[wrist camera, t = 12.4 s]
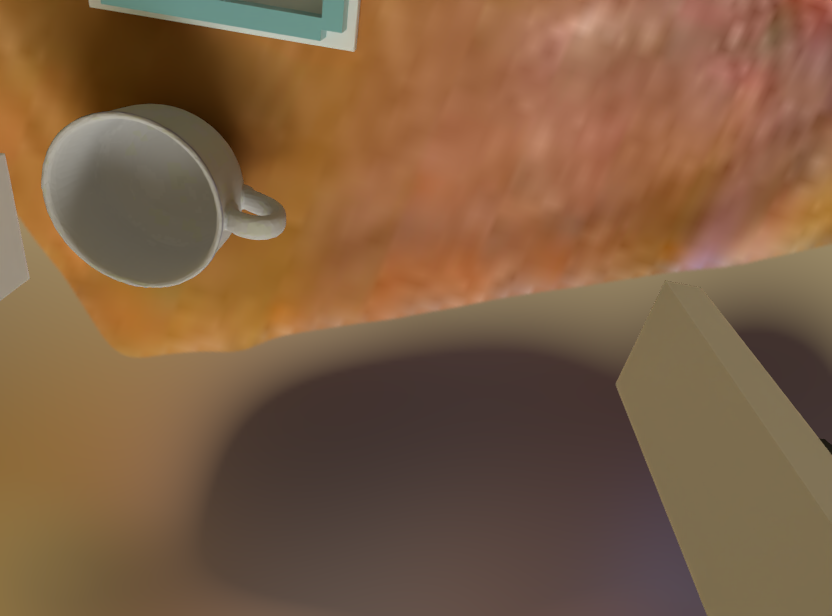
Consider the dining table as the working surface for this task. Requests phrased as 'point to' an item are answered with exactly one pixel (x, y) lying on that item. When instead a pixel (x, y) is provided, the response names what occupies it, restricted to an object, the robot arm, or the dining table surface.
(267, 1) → the dock
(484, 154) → the dining table surface
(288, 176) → the dining table surface
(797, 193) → the dining table surface
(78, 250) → the teacup
